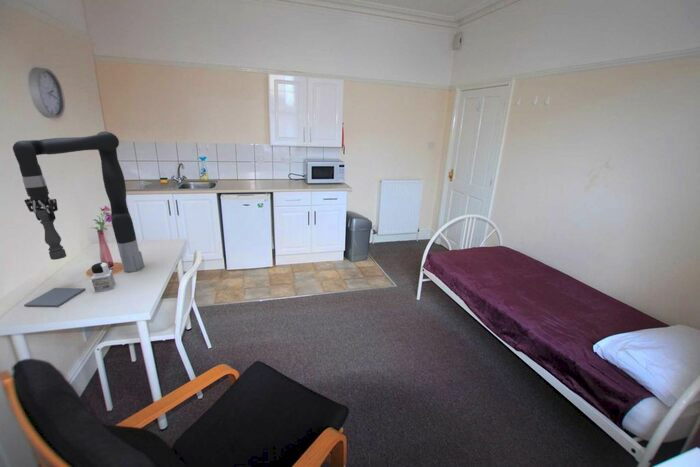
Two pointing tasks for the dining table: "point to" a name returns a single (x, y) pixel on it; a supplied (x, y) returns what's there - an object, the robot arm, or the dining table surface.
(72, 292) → the mat
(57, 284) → the dining table surface
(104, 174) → the robot arm
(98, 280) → the container
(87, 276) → the dining table surface
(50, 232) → the candle holder
